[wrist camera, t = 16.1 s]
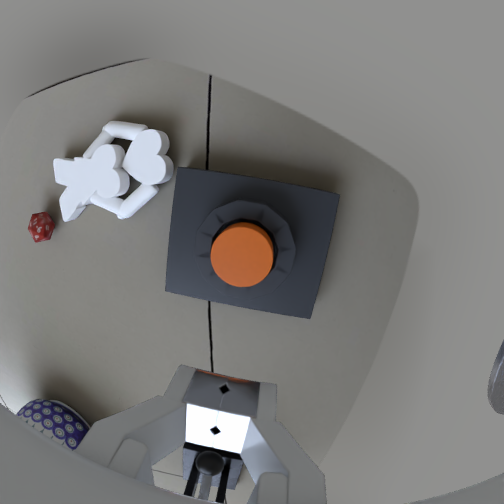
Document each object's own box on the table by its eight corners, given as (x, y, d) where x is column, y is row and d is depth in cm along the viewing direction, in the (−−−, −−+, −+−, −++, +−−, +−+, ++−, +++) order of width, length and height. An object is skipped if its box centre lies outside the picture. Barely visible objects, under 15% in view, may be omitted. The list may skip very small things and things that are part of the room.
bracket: (185, 441, 31) (161, 511, 20) (245, 453, 31) (234, 527, 20) (184, 473, 34) (166, 532, 23) (235, 484, 34) (225, 544, 22)
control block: (334, 192, 22) (346, 196, 18) (307, 307, 25) (312, 330, 21) (186, 167, 22) (169, 166, 19) (173, 281, 25) (156, 300, 21)
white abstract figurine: (181, 205, 23) (169, 209, 21) (80, 229, 25) (66, 234, 23) (163, 102, 21) (150, 98, 19) (65, 146, 23) (51, 146, 21)
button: (278, 227, 20) (278, 233, 18) (267, 282, 21) (266, 292, 19) (220, 217, 20) (214, 221, 18) (212, 272, 21) (207, 280, 19)
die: (38, 221, 25) (19, 227, 22) (50, 204, 24) (31, 208, 21) (50, 243, 25) (32, 250, 23) (63, 226, 25) (44, 232, 22)
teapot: (44, 432, 37) (10, 477, 23) (9, 374, 33) (-37, 418, 19) (149, 465, 34) (120, 534, 20) (114, 404, 31) (63, 484, 16)
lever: (200, 444, 27) (195, 454, 24) (227, 450, 27) (225, 461, 24) (187, 518, 24) (182, 530, 21) (211, 523, 24) (209, 536, 21)
